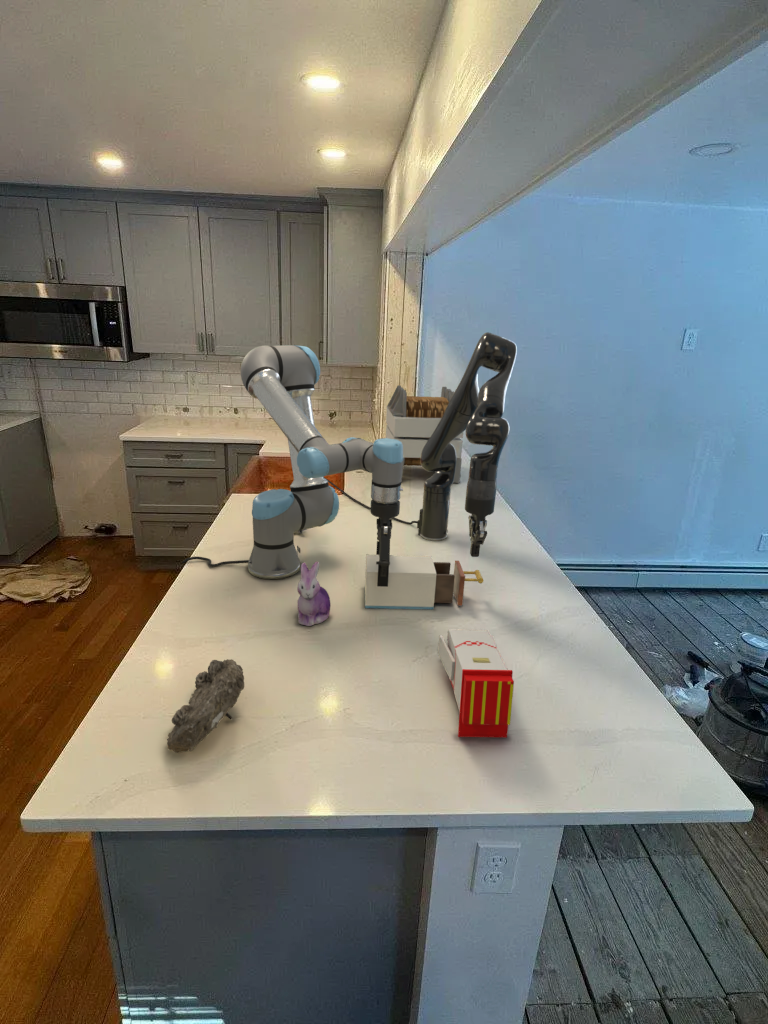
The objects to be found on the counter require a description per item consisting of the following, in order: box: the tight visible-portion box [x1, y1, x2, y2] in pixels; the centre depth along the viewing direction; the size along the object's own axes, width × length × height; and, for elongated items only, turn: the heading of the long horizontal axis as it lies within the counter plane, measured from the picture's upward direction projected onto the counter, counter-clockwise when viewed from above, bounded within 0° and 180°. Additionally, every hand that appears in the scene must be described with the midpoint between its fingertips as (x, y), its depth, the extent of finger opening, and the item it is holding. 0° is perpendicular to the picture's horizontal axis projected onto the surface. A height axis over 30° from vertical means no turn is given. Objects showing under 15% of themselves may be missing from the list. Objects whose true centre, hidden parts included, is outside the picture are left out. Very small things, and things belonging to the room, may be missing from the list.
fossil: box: [166, 658, 245, 754], centre depth 106 cm, size 22×10×15 cm
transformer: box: [385, 384, 465, 484], centre depth 268 cm, size 34×33×41 cm
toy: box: [437, 628, 515, 738], centre depth 117 cm, size 12×13×30 cm
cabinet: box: [364, 553, 436, 610], centre depth 154 cm, size 18×11×11 cm, turn 92°
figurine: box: [297, 561, 331, 627], centre depth 141 cm, size 9×10×15 cm
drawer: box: [433, 560, 484, 607], centre depth 154 cm, size 23×10×9 cm, turn 92°
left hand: (381, 574), depth 153 cm, fingers open, 13 cm apart
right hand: (474, 555), depth 152 cm, fingers closed
